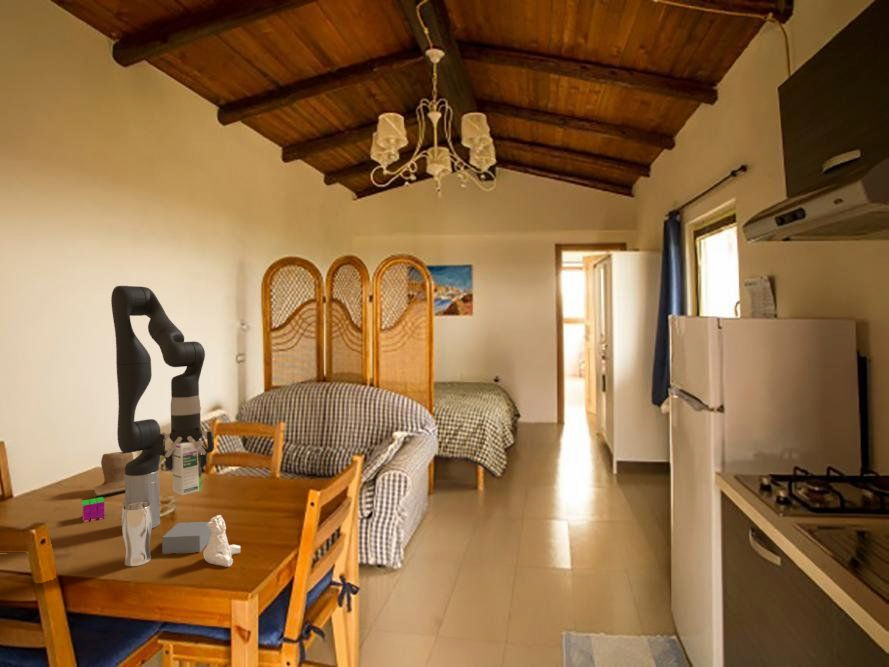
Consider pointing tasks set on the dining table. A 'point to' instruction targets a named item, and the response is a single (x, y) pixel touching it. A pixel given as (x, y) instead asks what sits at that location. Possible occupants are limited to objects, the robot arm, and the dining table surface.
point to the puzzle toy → (93, 508)
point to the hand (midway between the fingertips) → (187, 468)
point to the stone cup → (113, 473)
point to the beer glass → (137, 532)
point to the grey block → (186, 538)
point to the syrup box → (186, 468)
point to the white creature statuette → (219, 544)
